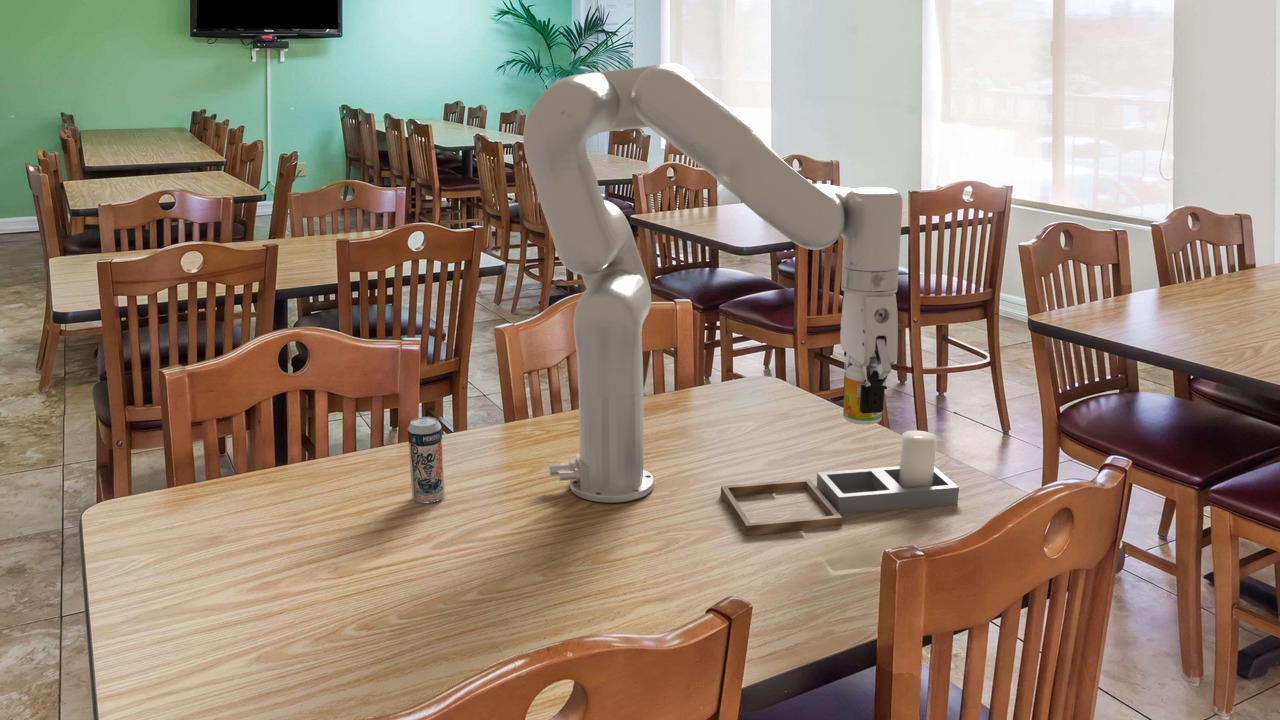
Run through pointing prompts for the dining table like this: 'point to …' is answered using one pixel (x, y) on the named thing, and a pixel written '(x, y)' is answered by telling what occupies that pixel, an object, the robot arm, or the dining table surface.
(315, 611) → the dining table surface
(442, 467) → the beer can
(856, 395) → the supplement bottle
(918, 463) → the white pillar candle
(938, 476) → the caddy
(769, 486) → the tray
